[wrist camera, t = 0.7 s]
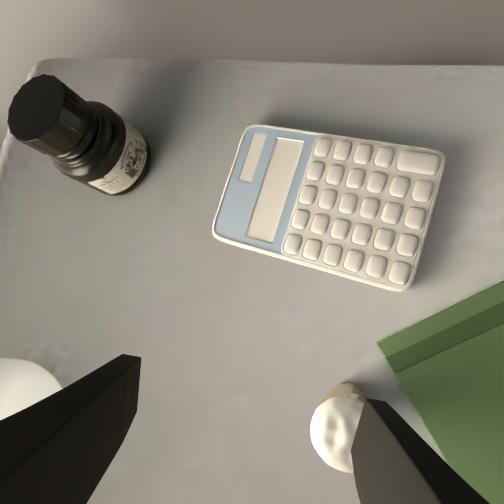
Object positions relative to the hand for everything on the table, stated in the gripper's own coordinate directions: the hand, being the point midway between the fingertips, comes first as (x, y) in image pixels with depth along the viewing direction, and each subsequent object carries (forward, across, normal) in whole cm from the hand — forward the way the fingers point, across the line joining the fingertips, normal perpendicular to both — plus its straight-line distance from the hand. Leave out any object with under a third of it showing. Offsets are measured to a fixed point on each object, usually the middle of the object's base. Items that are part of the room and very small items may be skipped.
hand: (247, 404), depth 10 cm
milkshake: (+17, -10, +11) cm, 22 cm away
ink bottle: (+33, +19, -5) cm, 38 cm away
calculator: (+25, -5, -5) cm, 26 cm away
